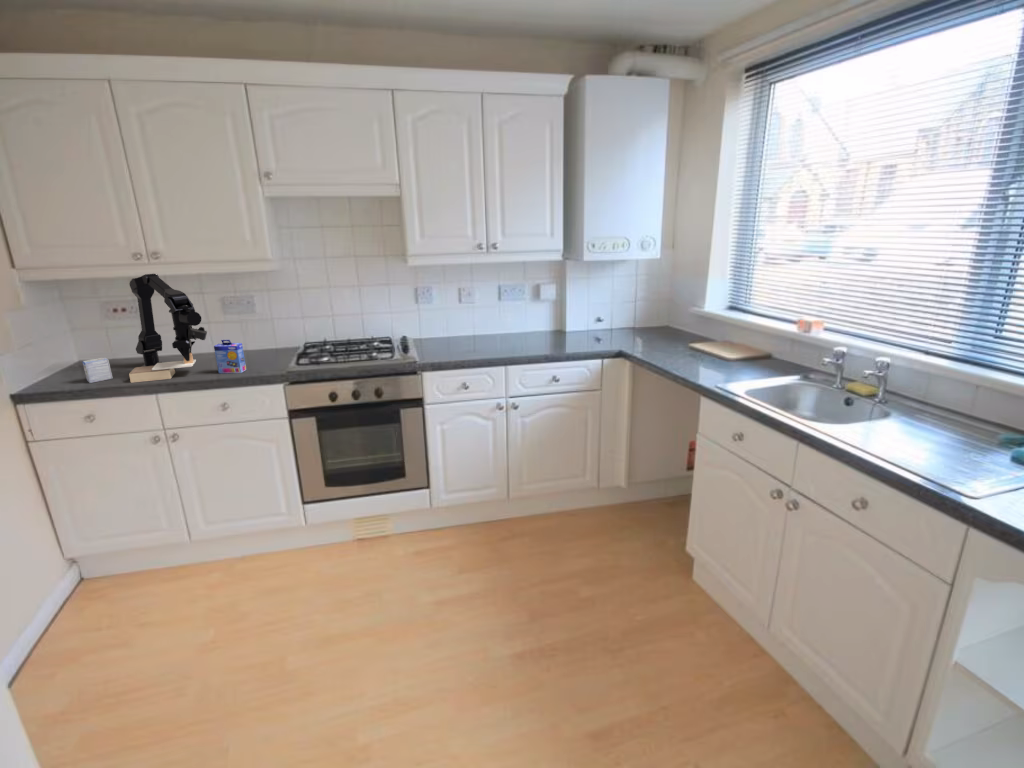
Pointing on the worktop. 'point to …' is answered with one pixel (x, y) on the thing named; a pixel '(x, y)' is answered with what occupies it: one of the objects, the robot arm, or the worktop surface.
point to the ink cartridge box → (230, 357)
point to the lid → (175, 364)
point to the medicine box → (97, 370)
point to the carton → (150, 374)
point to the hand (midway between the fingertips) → (188, 360)
